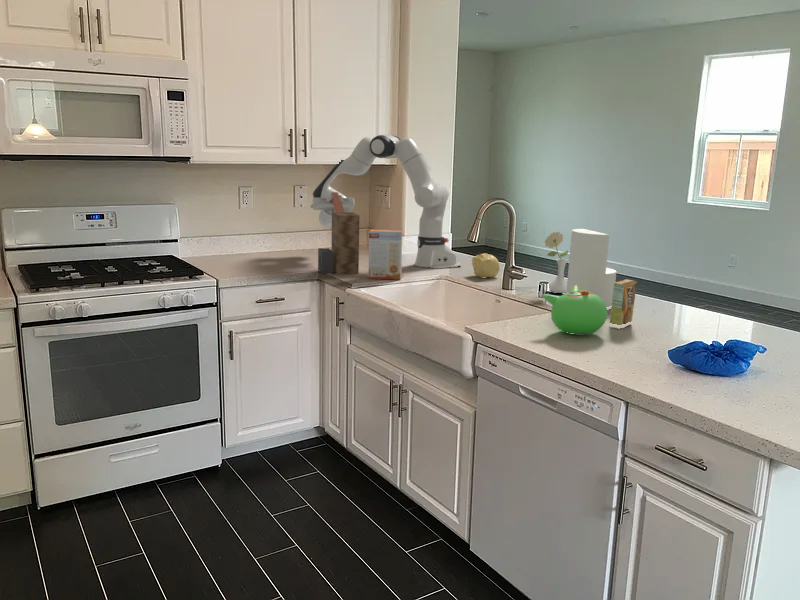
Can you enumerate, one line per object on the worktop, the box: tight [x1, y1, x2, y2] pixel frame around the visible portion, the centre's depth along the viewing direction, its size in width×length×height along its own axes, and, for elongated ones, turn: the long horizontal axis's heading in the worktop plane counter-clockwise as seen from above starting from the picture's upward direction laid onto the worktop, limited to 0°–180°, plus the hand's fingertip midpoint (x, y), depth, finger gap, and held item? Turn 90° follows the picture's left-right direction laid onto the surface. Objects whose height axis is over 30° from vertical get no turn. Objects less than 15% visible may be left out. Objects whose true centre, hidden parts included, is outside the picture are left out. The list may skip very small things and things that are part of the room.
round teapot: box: [541, 285, 608, 335], centre depth 213 cm, size 18×17×15 cm
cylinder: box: [566, 228, 617, 307], centre depth 251 cm, size 17×17×28 cm
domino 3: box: [320, 251, 334, 275], centre depth 298 cm, size 5×2×10 cm, turn 107°
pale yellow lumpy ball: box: [471, 252, 500, 278], centre depth 302 cm, size 11×12×11 cm
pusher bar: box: [331, 191, 344, 212], centre depth 315 cm, size 3×20×3 cm, turn 17°
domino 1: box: [317, 247, 331, 270], centre depth 305 cm, size 5×2×10 cm, turn 107°
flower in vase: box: [544, 231, 569, 293], centre depth 271 cm, size 13×11×25 cm
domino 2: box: [318, 249, 331, 273], centre depth 301 cm, size 5×2×10 cm, turn 107°
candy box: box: [609, 278, 638, 325], centre depth 224 cm, size 9×4×15 cm, turn 137°
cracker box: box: [368, 229, 403, 281], centre depth 290 cm, size 14×6×21 cm, turn 84°
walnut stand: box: [330, 211, 360, 275], centre depth 303 cm, size 10×12×26 cm
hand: (336, 196), depth 318 cm, fingers closed on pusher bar, 3 cm apart
